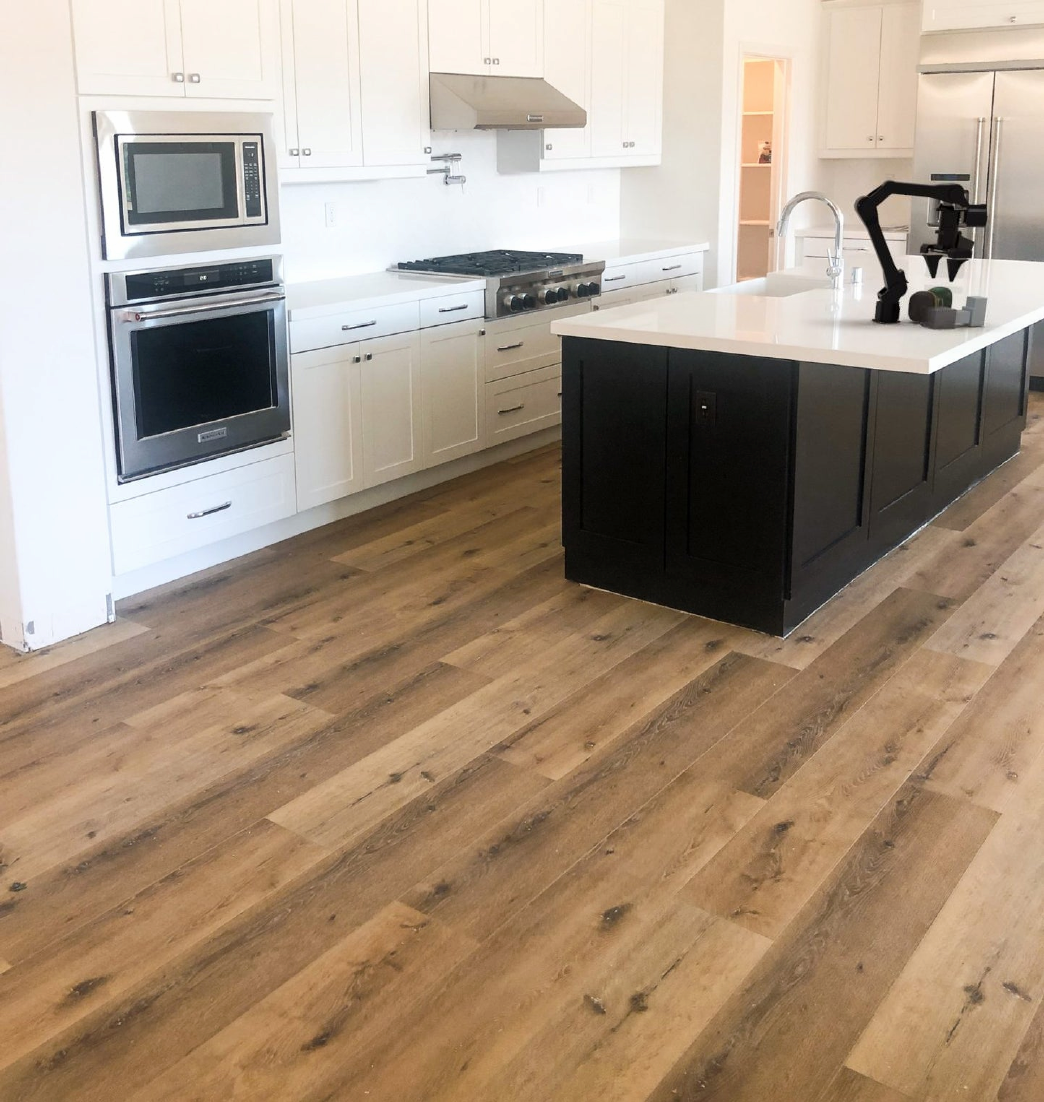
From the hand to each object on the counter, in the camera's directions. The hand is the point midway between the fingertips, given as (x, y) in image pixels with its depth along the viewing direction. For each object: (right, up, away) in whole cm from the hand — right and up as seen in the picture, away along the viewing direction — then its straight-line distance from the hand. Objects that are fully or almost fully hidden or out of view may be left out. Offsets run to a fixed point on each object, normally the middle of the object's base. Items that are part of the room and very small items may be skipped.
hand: (942, 280), depth 365 cm
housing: (-3, -15, -3) cm, 15 cm away
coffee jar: (+5, -3, +15) cm, 16 cm away
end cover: (+7, -14, -1) cm, 15 cm away
